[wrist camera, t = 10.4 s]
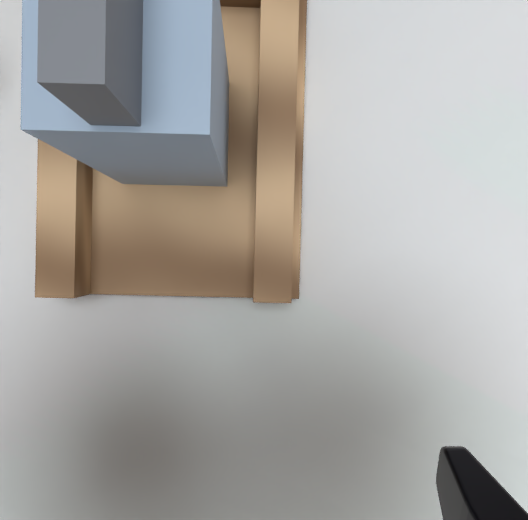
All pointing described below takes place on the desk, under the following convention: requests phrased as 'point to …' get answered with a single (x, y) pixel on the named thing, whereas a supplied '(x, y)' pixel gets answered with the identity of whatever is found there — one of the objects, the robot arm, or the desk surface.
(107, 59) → the box with grey fin
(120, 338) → the desk surface
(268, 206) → the cradle
